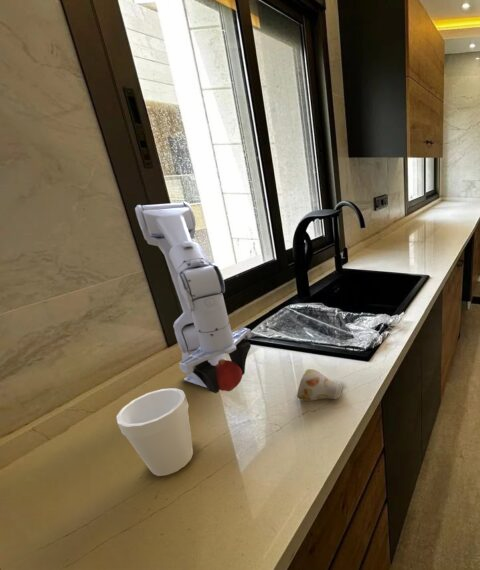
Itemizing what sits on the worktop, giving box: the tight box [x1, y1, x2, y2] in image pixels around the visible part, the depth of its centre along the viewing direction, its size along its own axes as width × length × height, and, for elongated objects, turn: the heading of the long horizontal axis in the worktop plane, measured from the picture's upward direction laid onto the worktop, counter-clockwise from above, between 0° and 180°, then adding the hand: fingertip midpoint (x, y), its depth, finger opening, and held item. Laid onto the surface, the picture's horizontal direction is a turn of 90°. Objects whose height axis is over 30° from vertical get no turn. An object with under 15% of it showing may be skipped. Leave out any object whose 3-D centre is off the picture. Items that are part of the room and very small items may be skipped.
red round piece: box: [216, 359, 243, 392], centre depth 69 cm, size 6×6×8 cm
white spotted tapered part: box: [296, 368, 343, 402], centre depth 77 cm, size 8×10×10 cm
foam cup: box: [116, 387, 194, 477], centre depth 59 cm, size 10×9×13 cm
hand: (227, 382), depth 70 cm, fingers closed on red round piece, 6 cm apart
